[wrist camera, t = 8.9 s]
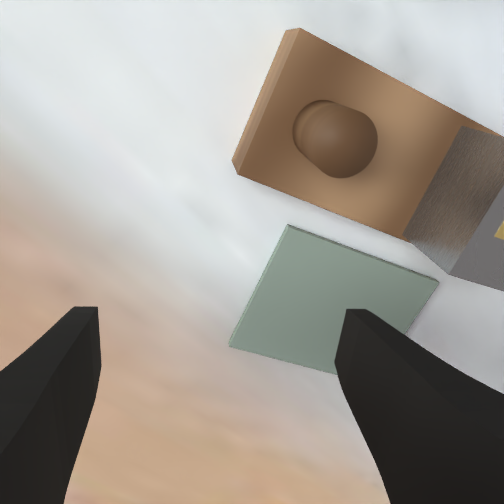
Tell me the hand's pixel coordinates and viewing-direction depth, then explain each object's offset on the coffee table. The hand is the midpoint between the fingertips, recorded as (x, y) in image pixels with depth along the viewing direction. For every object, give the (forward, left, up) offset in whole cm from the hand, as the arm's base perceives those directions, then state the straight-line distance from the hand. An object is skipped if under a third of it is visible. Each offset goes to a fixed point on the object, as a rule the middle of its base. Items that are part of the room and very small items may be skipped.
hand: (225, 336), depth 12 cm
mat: (-9, +3, -10) cm, 14 cm away
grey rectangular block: (-10, -6, -7) cm, 14 cm away
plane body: (-9, -6, -10) cm, 15 cm away
